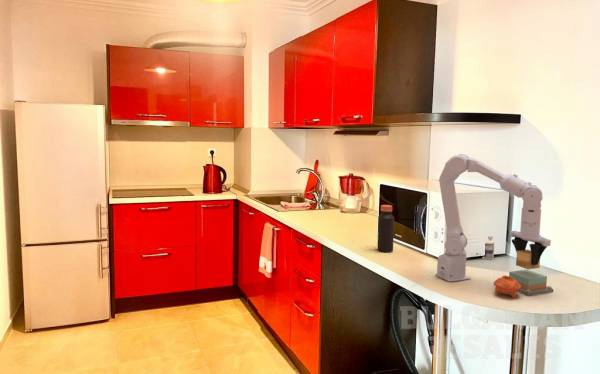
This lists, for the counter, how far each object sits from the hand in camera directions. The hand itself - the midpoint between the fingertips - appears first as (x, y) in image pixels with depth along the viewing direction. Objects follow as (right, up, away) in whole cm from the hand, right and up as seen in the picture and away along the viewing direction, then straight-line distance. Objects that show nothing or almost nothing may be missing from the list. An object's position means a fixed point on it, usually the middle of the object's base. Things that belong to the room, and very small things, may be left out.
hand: (527, 262), depth 152 cm
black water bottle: (-39, -3, +47) cm, 61 cm away
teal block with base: (0, -9, +1) cm, 9 cm away
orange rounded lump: (-10, -10, -5) cm, 15 cm away
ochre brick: (0, -1, 0) cm, 2 cm away
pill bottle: (+2, -5, +38) cm, 38 cm away
